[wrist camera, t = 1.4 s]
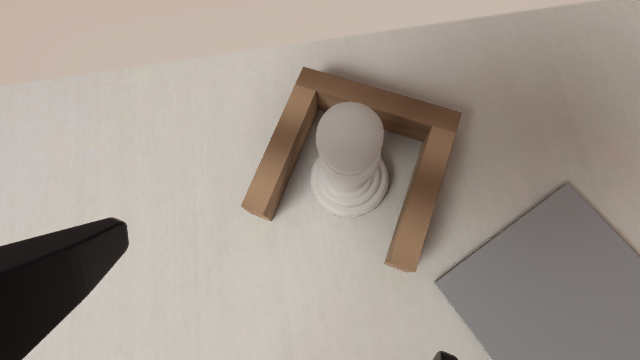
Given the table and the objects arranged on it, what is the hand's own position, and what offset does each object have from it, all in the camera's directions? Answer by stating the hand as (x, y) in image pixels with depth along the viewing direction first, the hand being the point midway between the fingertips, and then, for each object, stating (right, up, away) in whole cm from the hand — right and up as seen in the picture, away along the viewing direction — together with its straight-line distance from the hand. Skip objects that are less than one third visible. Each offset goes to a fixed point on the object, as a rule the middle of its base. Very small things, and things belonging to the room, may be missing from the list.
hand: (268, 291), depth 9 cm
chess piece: (+3, +3, +15) cm, 15 cm away
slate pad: (+16, -5, +11) cm, 20 cm away
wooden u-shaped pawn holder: (+3, +3, +14) cm, 15 cm away
